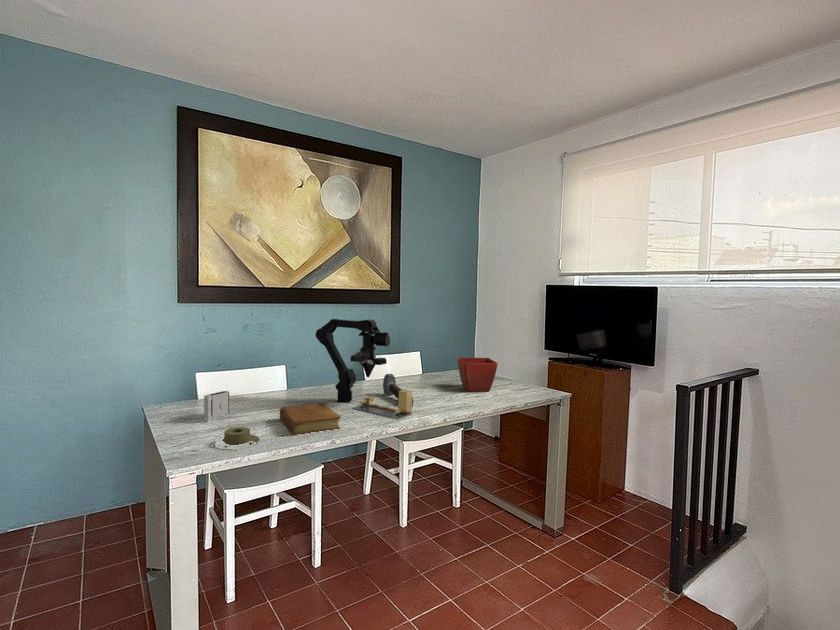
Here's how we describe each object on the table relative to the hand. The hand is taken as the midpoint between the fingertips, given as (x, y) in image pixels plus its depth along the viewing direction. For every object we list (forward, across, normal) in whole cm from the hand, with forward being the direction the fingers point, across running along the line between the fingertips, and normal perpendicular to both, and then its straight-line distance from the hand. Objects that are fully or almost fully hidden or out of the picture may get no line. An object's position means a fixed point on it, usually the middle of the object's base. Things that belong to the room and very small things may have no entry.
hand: (367, 377), depth 217 cm
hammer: (+13, +8, +15) cm, 21 cm away
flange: (+14, -1, -70) cm, 72 cm away
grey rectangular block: (+13, -34, -58) cm, 69 cm away
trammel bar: (+13, +14, -6) cm, 20 cm away
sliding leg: (+12, +25, -6) cm, 28 cm away
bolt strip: (+13, +14, -8) cm, 21 cm away
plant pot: (+13, +27, +63) cm, 70 cm away
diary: (+14, +3, -40) cm, 42 cm away
